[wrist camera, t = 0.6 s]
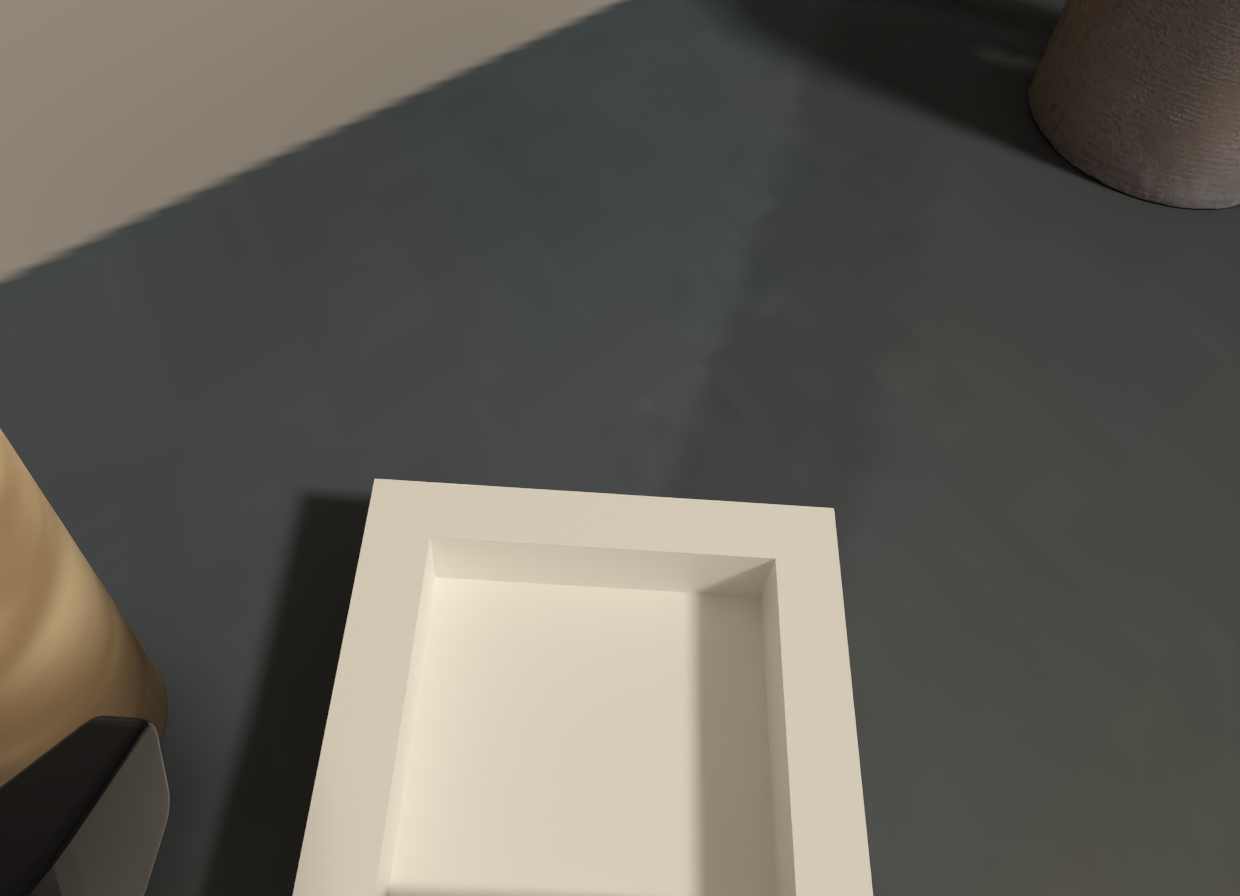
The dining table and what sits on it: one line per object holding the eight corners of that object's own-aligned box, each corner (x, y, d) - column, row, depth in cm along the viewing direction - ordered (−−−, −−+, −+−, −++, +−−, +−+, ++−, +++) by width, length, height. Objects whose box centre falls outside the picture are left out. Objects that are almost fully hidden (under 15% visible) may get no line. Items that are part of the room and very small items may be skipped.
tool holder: (851, 1037, 22) (885, 1018, 20) (297, 1013, 21) (273, 990, 19) (811, 560, 28) (834, 508, 26) (385, 533, 28) (374, 478, 26)
